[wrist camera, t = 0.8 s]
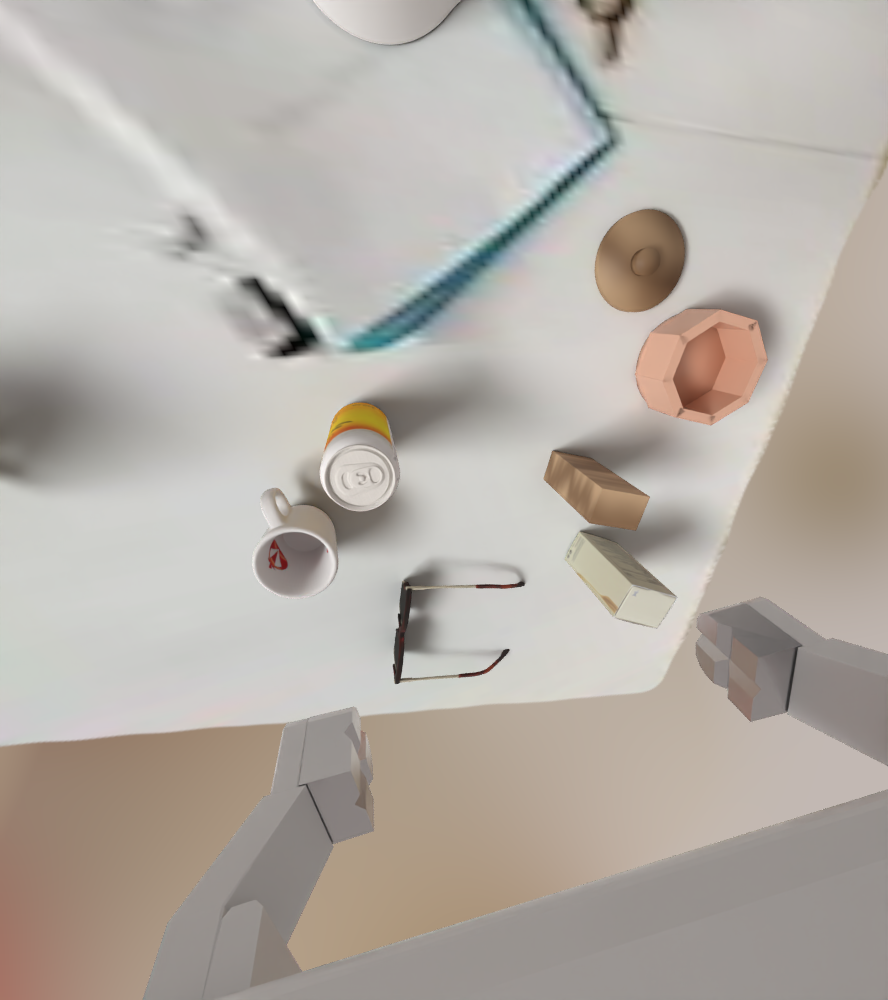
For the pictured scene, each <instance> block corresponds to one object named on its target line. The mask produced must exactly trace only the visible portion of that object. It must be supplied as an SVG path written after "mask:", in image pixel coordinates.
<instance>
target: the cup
mask: <svg viewBox="0 0 888 1000" xmlns="http://www.w3.org/2000/svg"><path fill="white" fill-rule="evenodd" d="M260 504H261V509H262V511H263V514H264V516H265V518H266V520H267V522H268V524H269V528H268V529H267V531H266V532H265V533H264V535H263V536H262V538H261V539H260V540H259V542H258V543H257V545H256V547H255V549H254V552H253V556H252V567H253V571H254V574H255V576H256V578H257V579H258V581H259V582H260V583H261V585H262V586H263V587H265V588H266V589H267V590H268V591H270V592H272V593H274V594H276V595H278V596H281V597H285V598H291V599H302V598H307V597H311V596H314V595H316V594H318V593H320V592H322V591H323V590H324V589H326V588H327V587H328V586H329V585H330V584H331V582H332V581H333V579H334V578H335V576H336V573H337V570H338V552H337V543H336V534H335V528H334V525H333V523H332V521H331V519H330V518H329V517H328V515H327V514H326V513H324V512H323V511H322V510H320V509H318V508H316V507H313V506H309V505H296V506H292V507H291V506H290V504H289V502H288V500H287V499H286V497H285V495H284V494H283V492H282V491H281V490H280V489H278V488H272V489H269V490H267V491H265V492H264V493H263V494H262V496H261V500H260Z"/></svg>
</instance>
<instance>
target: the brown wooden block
mask: <svg viewBox="0 0 888 1000" xmlns="http://www.w3.org/2000/svg"><path fill="white" fill-rule="evenodd" d="M544 480H545V481H546V482H547V483H548V484H549V485H550V486H551V487H552V488H553V489H554V490H555V491H556V492H557V493H558V494H560V495H561V496H562V497H563V498H564V499H565V500H566V501H567V502H568V503H569V504H570V505H571V506H572V507H573V508H574V509H575V510H576V511H577V512H578V513H579V514H580V515H581V516H583V517H584V518H585V519H586V520H587V521H588V522H589V523H592V524H598V525H604V526H611V527H617V528H623V529H630V530H636V529H637V527H638V524H639V522H640V520H641V517H642V515H643V512H644V510H645V508H646V505H647V503H648V500H649V498H650V497H649V496H648V495H646V494H645V493H643V492H642V491H640V490H639V489H637V488H636V487H634V486H633V485H631V484H630V483H628V482H627V481H625V480H624V479H622V478H621V477H619V476H618V475H616V474H615V473H613V472H612V471H610V470H608V469H607V468H605V467H604V466H602V465H601V464H599V463H598V462H596V461H595V460H593V459H592V458H588V457H583V456H578V455H572V454H567V453H562V452H557V451H552V454H551V457H550V460H549V463H548V466H547V470H546V473H545V476H544Z"/></svg>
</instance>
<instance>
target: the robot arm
mask: <svg viewBox="0 0 888 1000" xmlns="http://www.w3.org/2000/svg"><path fill="white" fill-rule="evenodd" d="M313 1H314V3H315V4H316V5H317V6H318V7H319V8H320V10H321V11H322V12H323V13H324V14H325V15H326V16H327V17H328V18H329V19H330V20H332V21H333V22H334V23H335V24H336V25H338V26H339V27H340V28H342V29H343V30H345V31H346V32H348V33H350V34H352V35H354V36H355V37H358V38H360V39H363V40H365V41H368V42H372V43H377V44H386V45H393V44H402V43H406V42H410V41H413V40H416V39H418V38H420V37H422V36H424V35H425V34H427V33H429V32H430V31H431V30H433V29H434V28H435V27H436V26H438V25H439V24H440V23H441V22H442V21H443V20H444V19H445V17H446V16H447V15H448V14H449V13H450V12H451V10H452V9H453V8H454V7H455V6H456V5H457V4H458V3H459V2H460V1H461V0H313ZM697 629H698V630H699V631H700V632H701V633H702V635H701V636H700V638H699V639H698V640H697V642H696V656H697V659H698V662H699V664H700V666H701V668H702V670H703V671H704V673H705V674H706V676H707V677H708V678H709V679H710V680H711V681H712V682H713V683H714V684H717V685H719V686H721V687H724V688H727V696H728V699H729V700H730V701H731V702H732V703H733V704H734V705H735V706H736V707H737V708H738V709H739V710H740V711H741V712H742V713H743V715H744V716H745V717H746V718H747V719H748V720H749V721H750V722H751V721H755V720H759V719H763V718H766V717H771V716H775V715H778V714H782V713H786V712H788V713H787V714H788V715H790V716H792V717H793V718H795V719H797V720H799V721H801V722H803V723H805V724H807V725H809V726H811V727H813V728H815V729H817V730H819V731H821V732H823V733H825V734H827V735H829V736H830V737H832V738H835V739H836V740H838V741H840V742H842V743H844V744H846V745H848V746H850V747H852V748H854V749H856V750H858V751H859V752H861V753H863V754H865V755H867V756H869V757H871V758H873V759H875V760H877V761H879V762H881V763H883V764H885V765H887V766H888V654H885V653H882V652H879V651H875V650H872V649H868V648H865V647H862V646H858V645H854V644H851V643H848V642H845V641H841V640H837V639H834V638H831V639H827V640H826V639H825V638H823V637H822V636H820V635H819V634H818V633H816V632H815V631H813V630H812V629H810V628H809V627H807V626H806V625H805V624H803V623H802V622H800V621H799V620H797V619H796V618H794V617H793V616H792V615H790V614H789V613H787V612H786V611H784V610H783V609H782V608H780V607H779V606H777V605H776V604H774V603H773V602H771V601H770V600H769V599H766V598H763V597H759V598H755V599H752V600H748V601H744V602H741V603H739V604H734V605H730V606H726V607H723V608H719V609H716V610H712V611H708V612H705V613H701V614H700V615H699V617H698V618H697ZM372 780H373V765H372V758H371V751H370V746H369V742H368V739H367V736H366V733H365V732H363V731H361V730H360V716H359V713H358V711H357V708H356V707H351V708H346V709H342V710H338V711H334V712H330V713H326V714H321V715H317V716H313V717H310V718H307V719H303V720H299V721H294V722H290V723H287V724H286V726H285V728H284V729H283V733H282V738H281V743H280V748H279V753H278V759H277V764H276V769H275V774H274V779H273V784H272V789H271V794H270V795H268V796H264V797H263V798H262V799H261V800H260V802H259V803H258V804H257V806H256V807H255V808H254V810H253V811H252V812H251V814H250V815H249V816H248V818H247V819H246V820H245V821H244V823H243V824H242V825H241V827H240V828H239V829H238V831H237V832H236V834H235V835H234V836H233V837H232V839H231V840H230V841H229V843H228V844H227V845H226V847H225V848H224V849H223V851H222V852H221V853H220V854H219V856H218V857H217V858H216V860H215V861H214V862H213V864H212V865H211V866H210V868H209V869H208V870H207V872H206V873H205V874H204V876H203V877H202V878H201V880H200V881H199V882H198V884H197V885H196V886H195V887H194V889H193V890H192V891H191V893H190V894H189V895H188V897H187V898H186V899H185V901H184V902H183V903H182V905H181V906H180V907H179V909H178V910H177V911H176V912H175V914H174V915H173V917H172V918H171V919H170V920H169V922H168V923H167V926H166V929H165V932H164V935H163V938H162V942H161V945H160V948H159V951H158V954H157V957H156V960H155V963H154V966H153V969H152V973H151V975H150V978H149V982H148V985H147V988H146V991H145V994H144V997H143V1000H888V790H885V791H881V792H878V793H875V794H872V795H868V796H865V797H862V798H859V799H855V800H853V801H849V802H846V803H843V804H839V805H836V806H833V807H830V808H827V809H823V810H820V811H817V812H814V813H810V814H807V815H804V816H801V817H798V818H794V819H791V820H788V821H785V822H782V823H779V824H775V825H772V826H769V827H765V828H762V829H759V830H756V831H753V832H749V833H746V834H743V835H740V836H737V837H733V838H730V839H727V840H724V841H720V842H717V843H714V844H711V845H708V846H704V847H702V848H698V849H695V850H692V851H688V852H685V853H682V854H679V855H675V856H673V857H669V858H666V859H663V860H659V861H656V862H653V863H650V864H647V865H643V866H641V867H637V868H634V869H631V870H627V871H625V872H621V873H618V874H615V875H611V876H609V877H605V878H602V879H599V880H595V881H592V882H589V883H586V884H583V885H580V886H577V887H573V888H570V889H567V890H564V891H560V892H557V893H554V894H551V895H548V896H544V897H541V898H538V899H535V900H531V901H528V902H525V903H522V904H519V905H515V906H512V907H509V908H506V909H503V910H499V911H496V912H493V913H490V914H487V915H483V916H480V917H477V918H473V919H470V920H467V921H464V922H461V923H457V924H454V925H451V926H448V927H445V928H441V929H438V930H435V931H432V932H429V933H425V934H422V935H419V936H416V937H412V938H409V939H406V940H403V941H400V942H396V943H393V944H390V945H387V946H383V947H380V948H377V949H374V950H371V951H367V952H364V953H361V954H358V955H354V956H351V957H348V958H345V959H342V960H338V961H336V962H332V963H329V964H325V965H322V966H319V967H316V968H313V969H309V970H306V971H303V972H302V970H301V969H300V967H299V966H298V964H297V962H296V961H295V959H294V957H293V956H292V954H291V952H290V950H289V949H288V947H287V943H288V941H289V939H290V937H291V935H292V933H293V931H294V929H295V927H296V924H297V922H298V920H299V918H300V916H301V914H302V912H303V910H304V908H305V905H306V903H307V901H308V899H309V897H310V895H311V893H312V891H313V889H314V887H315V885H316V882H317V880H318V878H319V876H320V874H321V872H322V870H323V868H324V866H325V863H326V861H327V860H328V857H329V855H330V853H331V851H332V849H333V845H332V844H335V843H338V842H341V841H344V840H347V839H350V838H354V837H357V836H360V835H363V834H366V833H369V832H372V831H374V803H373V802H374V801H373V796H372V793H371V791H370V788H369V785H370V783H371V781H372Z"/></svg>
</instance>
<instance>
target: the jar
mask: <svg viewBox="0 0 888 1000" xmlns="http://www.w3.org/2000/svg"><path fill="white" fill-rule="evenodd" d="M767 360H768V359H767V355H766V352H765V348H764V344H763V340H762V336H761V333H760V329H759V325H758V321H757V320H753V319H750V318H747V317H744V316H740V315H737V314H734V313H730V312H727V311H724V310H721V309H686V310H685V311H683V312H682V313H680V314H678V315H675V316H673V317H671V318H669V319H667V320H665V321H664V322H663V323H661V324H660V325H659V326H658V327H657V328H656V329H655V330H654V331H652V332H651V333H650V335H649V337H648V338H647V340H646V341H645V343H644V345H643V347H642V349H641V351H640V354H639V357H638V361H637V366H636V373H635V375H636V381H637V386H638V389H639V391H640V393H641V395H642V397H643V398H644V400H645V401H646V402H647V405H648V408H651V409H653V410H656V411H659V412H662V413H665V414H668V415H670V416H673V417H677V418H681V419H686V420H690V421H694V422H699V423H703V424H707V425H713V424H714V423H716V422H717V421H719V420H721V419H722V418H724V417H725V416H727V415H729V414H730V413H732V412H733V411H735V410H737V409H738V408H740V407H742V406H743V405H745V404H746V403H748V402H749V399H750V397H751V395H752V393H753V391H754V389H755V386H756V384H757V382H758V380H759V378H760V376H761V373H762V371H763V369H764V367H765V365H766V363H767Z"/></svg>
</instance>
